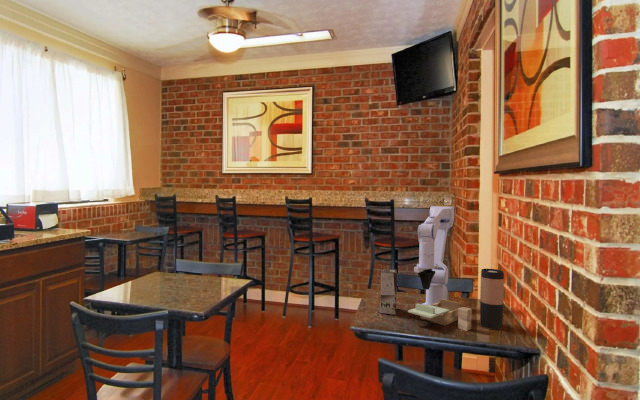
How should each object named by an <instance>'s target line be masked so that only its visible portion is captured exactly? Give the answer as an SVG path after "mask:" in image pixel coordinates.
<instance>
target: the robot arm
mask: <svg viewBox="0 0 640 400" xmlns="http://www.w3.org/2000/svg"><path fill="white" fill-rule="evenodd" d="M429 208H430V209H429V216H428V217H427V218H426V219H425V221H424V222H423V223H421V224H419V225H418V228H417V236H418V241H417V242H418V243H419V245H418V246H419V248H418V250H419V251H418V252H419V253H418V254H419V255H418V263H417V264H416V266H414V267H413V273H417V275H418V277H419V279H420V282H421V287H422V289H423V290H425V302H423V303H421V304H422V305H426V304H427V305H432V304H435V303H438V302H440V299H445V300H448V288H447V284H448V281H449V268H448V266H447V265H446V264H444V262H443V261H444V255H445V249H446V242H447V236H448V231H449V229H450V228H453V225H454V221H455V208H454V207H453V205H452V206H443V205H442V206H438V205H431V206H430V207H429Z"/></svg>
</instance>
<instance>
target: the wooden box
mask: <svg viewBox="0 0 640 400" xmlns="http://www.w3.org/2000/svg"><path fill="white" fill-rule="evenodd" d="M431 306H436V307H440V308H444V309H448V310H449V312H447V313H444V314H441V315H439V316H436V317H433V318H427V317H424V316H420V315H419V319H420V320H423V321H426V322H430V323H433V324H436V325H437V324H438V325H441V326H443V327H444V326H445V327H446V326H447V325H450V324H453V323H454V322H458V308H461V307H462V303H461V302H457V301H454V300H450V299H447V300H445V299H440V302H438V303H435V304H432V305H431Z"/></svg>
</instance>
